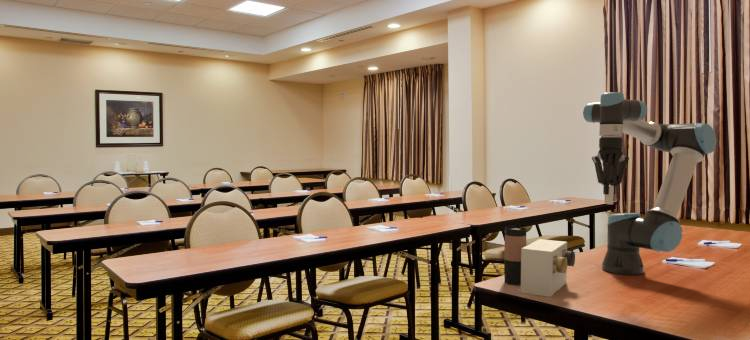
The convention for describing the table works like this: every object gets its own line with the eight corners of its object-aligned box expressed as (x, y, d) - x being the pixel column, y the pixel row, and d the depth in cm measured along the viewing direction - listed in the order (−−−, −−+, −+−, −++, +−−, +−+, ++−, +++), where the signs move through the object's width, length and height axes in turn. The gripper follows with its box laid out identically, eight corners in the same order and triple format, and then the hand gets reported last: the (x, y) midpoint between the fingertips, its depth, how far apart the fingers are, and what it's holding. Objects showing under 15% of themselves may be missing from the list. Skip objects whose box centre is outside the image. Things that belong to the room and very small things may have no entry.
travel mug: (510, 286, 188) (511, 230, 187) (499, 280, 195) (500, 226, 194) (529, 284, 190) (530, 229, 189) (518, 279, 197) (519, 226, 196)
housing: (566, 282, 193) (567, 241, 193) (550, 297, 175) (551, 251, 174) (538, 278, 199) (539, 239, 198) (520, 292, 180) (521, 248, 179)
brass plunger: (567, 271, 179) (567, 256, 179) (563, 274, 175) (563, 259, 174) (527, 266, 186) (527, 251, 186) (523, 269, 182) (523, 254, 182)
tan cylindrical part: (574, 264, 189) (575, 250, 189) (571, 267, 185) (572, 252, 185) (537, 260, 196) (537, 246, 196) (533, 262, 192) (533, 248, 192)
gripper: (599, 136, 182) (597, 205, 183) (634, 136, 184) (632, 204, 185) (587, 136, 189) (586, 202, 190) (621, 137, 191) (620, 202, 192)
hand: (609, 203), depth 187 cm, fingers closed
